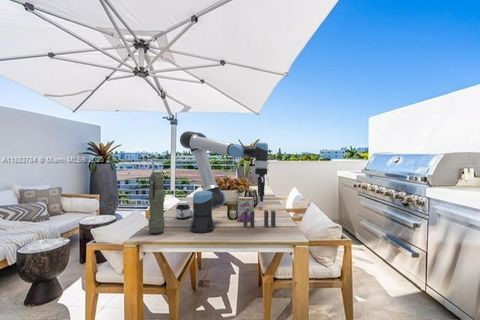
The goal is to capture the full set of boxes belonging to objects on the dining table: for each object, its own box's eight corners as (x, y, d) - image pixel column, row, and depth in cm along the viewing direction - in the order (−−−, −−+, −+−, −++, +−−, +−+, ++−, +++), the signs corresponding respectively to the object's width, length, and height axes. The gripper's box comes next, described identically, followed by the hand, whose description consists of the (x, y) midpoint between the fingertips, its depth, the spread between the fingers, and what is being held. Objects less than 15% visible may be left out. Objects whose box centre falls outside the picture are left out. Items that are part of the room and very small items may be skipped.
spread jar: (174, 218, 180) (174, 202, 179) (182, 215, 190) (182, 200, 190) (188, 219, 176) (189, 203, 176) (196, 216, 187) (196, 200, 187)
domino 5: (272, 227, 158) (272, 211, 158) (270, 225, 163) (271, 210, 163) (275, 227, 158) (275, 211, 158) (273, 225, 163) (274, 209, 163)
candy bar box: (237, 221, 172) (237, 197, 172) (237, 219, 177) (237, 196, 177) (253, 222, 171) (253, 198, 171) (253, 220, 176) (253, 197, 176)
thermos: (144, 233, 143) (144, 172, 143) (153, 228, 154) (154, 171, 154) (159, 234, 142) (159, 173, 142) (167, 228, 153) (167, 171, 153)
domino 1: (244, 227, 157) (244, 211, 157) (243, 225, 162) (243, 210, 162) (247, 227, 157) (247, 211, 157) (246, 225, 162) (246, 210, 162)
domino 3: (259, 210, 150) (259, 193, 150) (258, 208, 155) (258, 192, 155) (262, 210, 150) (263, 193, 150) (261, 208, 155) (261, 192, 155)
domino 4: (265, 227, 158) (265, 211, 158) (264, 225, 163) (264, 210, 163) (268, 227, 158) (268, 211, 158) (267, 225, 163) (267, 210, 163)
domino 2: (251, 227, 158) (251, 211, 158) (250, 225, 163) (250, 210, 163) (254, 227, 158) (254, 211, 158) (253, 225, 163) (253, 210, 163)
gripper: (269, 168, 143) (269, 208, 144) (265, 167, 161) (264, 203, 162) (257, 168, 143) (256, 208, 143) (253, 167, 161) (252, 203, 161)
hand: (260, 205), depth 152 cm, fingers closed on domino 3, 5 cm apart
